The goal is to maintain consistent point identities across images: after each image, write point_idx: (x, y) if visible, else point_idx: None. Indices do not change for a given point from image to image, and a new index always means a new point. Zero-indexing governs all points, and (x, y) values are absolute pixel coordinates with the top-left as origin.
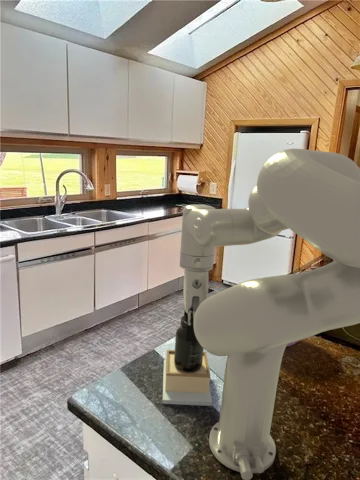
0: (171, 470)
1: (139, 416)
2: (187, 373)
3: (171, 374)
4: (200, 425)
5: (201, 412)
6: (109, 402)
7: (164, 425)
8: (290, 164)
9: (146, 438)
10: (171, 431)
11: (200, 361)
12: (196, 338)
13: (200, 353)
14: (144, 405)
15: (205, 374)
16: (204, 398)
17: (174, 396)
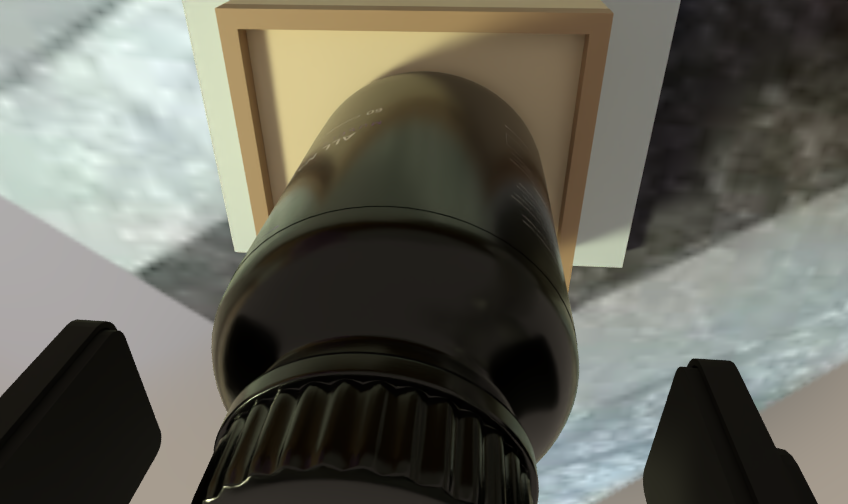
0: None
1: (691, 343)
2: (572, 202)
3: None
4: (839, 62)
5: (726, 44)
6: (584, 438)
7: (780, 248)
8: None
9: (840, 317)
10: (832, 218)
11: (505, 124)
12: (792, 458)
13: (518, 170)
14: (619, 326)
15: (593, 58)
16: (642, 23)
17: (599, 208)
